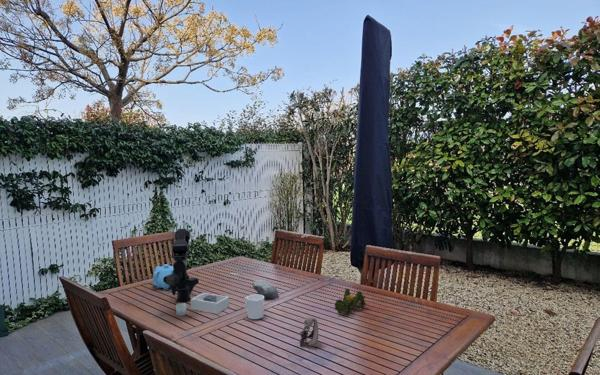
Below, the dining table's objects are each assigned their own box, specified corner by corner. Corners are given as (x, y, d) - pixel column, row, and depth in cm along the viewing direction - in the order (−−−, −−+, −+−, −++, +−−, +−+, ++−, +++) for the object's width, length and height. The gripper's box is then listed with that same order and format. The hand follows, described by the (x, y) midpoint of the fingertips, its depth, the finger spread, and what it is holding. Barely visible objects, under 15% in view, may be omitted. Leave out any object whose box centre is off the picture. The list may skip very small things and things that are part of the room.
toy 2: (370, 305, 211) (370, 287, 210) (347, 319, 192) (347, 299, 191) (353, 300, 217) (353, 283, 217) (330, 314, 198) (330, 295, 197)
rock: (270, 305, 217) (268, 289, 214) (249, 296, 227) (247, 282, 224) (282, 296, 225) (280, 280, 222) (262, 288, 235) (260, 274, 232)
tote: (190, 309, 205) (190, 299, 205) (203, 302, 215) (203, 292, 215) (217, 313, 198) (217, 303, 198) (229, 306, 209) (228, 296, 208)
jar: (174, 314, 197) (174, 305, 197) (180, 311, 202) (180, 302, 202) (182, 316, 196) (181, 306, 195) (188, 312, 200) (188, 303, 200)
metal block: (203, 307, 205) (203, 297, 205) (208, 303, 210) (208, 294, 210) (211, 308, 204) (210, 299, 203) (216, 305, 208) (216, 296, 208)
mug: (267, 314, 197) (267, 295, 196) (259, 321, 189) (259, 301, 188) (248, 312, 201) (247, 293, 200) (240, 318, 192) (239, 298, 192)
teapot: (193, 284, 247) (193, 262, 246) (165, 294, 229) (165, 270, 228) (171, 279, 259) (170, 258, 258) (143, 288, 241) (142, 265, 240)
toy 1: (296, 339, 168) (305, 309, 168) (313, 343, 169) (322, 314, 169) (297, 348, 160) (307, 317, 159) (315, 352, 161) (325, 321, 160)
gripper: (155, 268, 194) (155, 298, 195) (184, 272, 186) (185, 304, 187) (170, 263, 204) (171, 292, 205) (199, 267, 197) (199, 296, 198)
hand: (181, 296), depth 198 cm, fingers open, 9 cm apart
